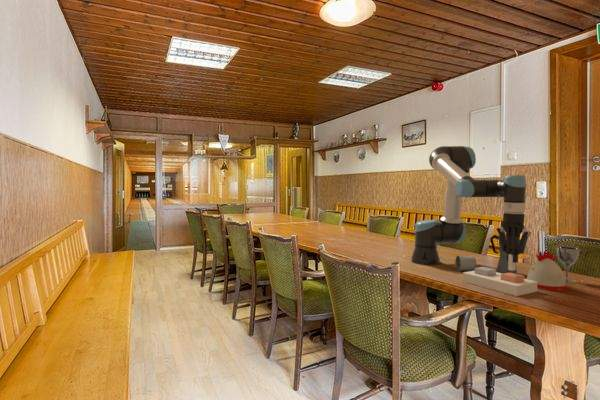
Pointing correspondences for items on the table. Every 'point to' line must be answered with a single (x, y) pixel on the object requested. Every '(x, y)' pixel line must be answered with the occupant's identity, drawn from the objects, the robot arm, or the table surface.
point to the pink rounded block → (512, 277)
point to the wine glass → (567, 258)
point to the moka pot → (502, 257)
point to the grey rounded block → (485, 271)
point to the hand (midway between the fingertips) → (511, 269)
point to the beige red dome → (547, 273)
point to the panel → (500, 283)
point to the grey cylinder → (465, 263)
